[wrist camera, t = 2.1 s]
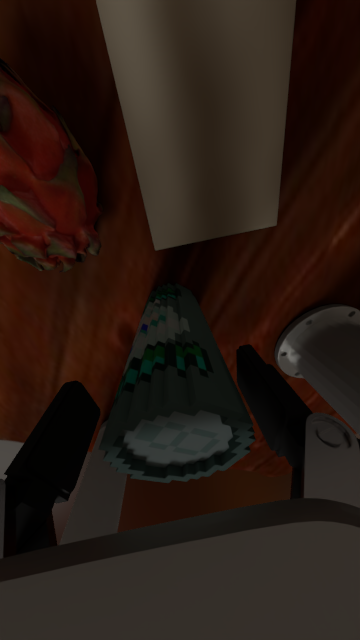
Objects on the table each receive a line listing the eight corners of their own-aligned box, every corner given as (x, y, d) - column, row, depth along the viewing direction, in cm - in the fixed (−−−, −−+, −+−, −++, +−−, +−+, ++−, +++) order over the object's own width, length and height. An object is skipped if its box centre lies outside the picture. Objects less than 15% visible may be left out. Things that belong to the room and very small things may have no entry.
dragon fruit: (88, 271, 19) (53, 137, 15) (138, 267, 14) (107, 72, 10) (-23, 281, 12) (-139, 43, 8) (5, 278, 8) (-226, -261, 4)
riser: (258, 27, 11) (302, -76, 7) (253, 227, 16) (276, 225, 13) (115, 61, 11) (90, -22, 8) (157, 247, 17) (155, 250, 13)
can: (159, 274, 18) (137, 381, 5) (204, 298, 20) (283, 426, 6) (139, 317, 20) (85, 472, 7) (181, 335, 22) (202, 487, 9)
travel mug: (138, 418, 30) (95, 685, 12) (131, 437, 33) (88, 677, 15) (103, 414, 28) (-3, 705, 11) (99, 434, 31) (10, 693, 14)
